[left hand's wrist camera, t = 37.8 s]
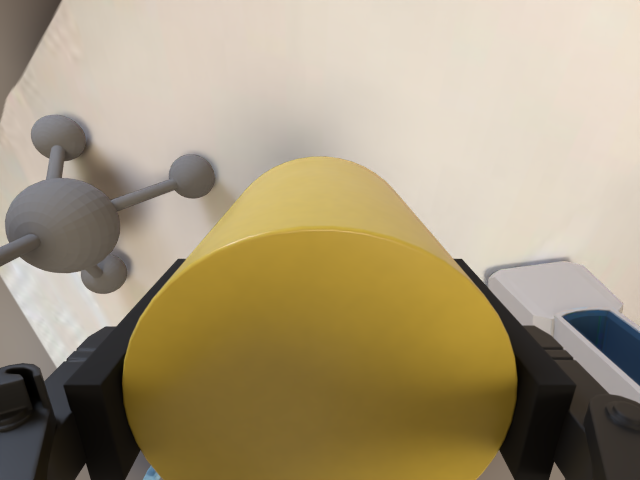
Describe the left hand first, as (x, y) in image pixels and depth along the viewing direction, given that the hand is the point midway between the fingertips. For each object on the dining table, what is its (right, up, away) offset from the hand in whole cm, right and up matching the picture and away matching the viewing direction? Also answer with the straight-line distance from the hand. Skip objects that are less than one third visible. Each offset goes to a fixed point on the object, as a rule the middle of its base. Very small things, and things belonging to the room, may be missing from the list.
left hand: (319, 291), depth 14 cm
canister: (0, +1, +4) cm, 4 cm away
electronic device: (+31, -5, +42) cm, 52 cm away
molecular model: (-24, +9, +37) cm, 45 cm away
